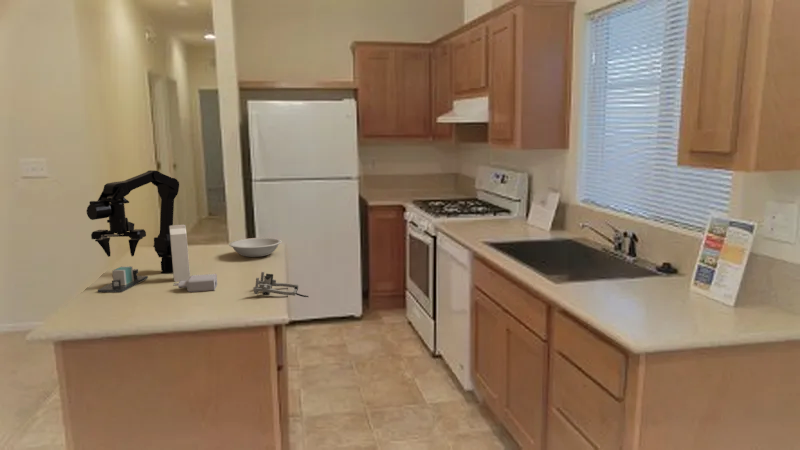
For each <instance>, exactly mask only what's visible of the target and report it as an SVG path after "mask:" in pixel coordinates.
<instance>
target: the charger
mask: <svg viewBox="0 0 800 450" xmlns="http://www.w3.org/2000/svg"><path fill="white" fill-rule="evenodd" d="M172 286H173V287H174V286H175V287H178V289H187V292H188V293H197V292H211V291H214V292H215V291H216V288H217V286H218V275H217V273H211V274H210V273H209V274H194V275H193V274H192V275H190V277H189V278H188V280H185V281H178V282H177V283H176V282H175V283H173V285H172Z"/></svg>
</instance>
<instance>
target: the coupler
mask: <svg viewBox="0 0 800 450" xmlns="http://www.w3.org/2000/svg"><path fill="white" fill-rule="evenodd" d="M133 269H134V268H133V266H128V265H127V266H120V267H118V268H116V269H113V270H112V271H111V272H112V273H111V275H112V280H114V279H116V278H119V280H121V284H127V283H129V282H131V281H132V280H134V278H133Z"/></svg>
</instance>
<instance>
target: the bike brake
mask: <svg viewBox="0 0 800 450" xmlns="http://www.w3.org/2000/svg"><path fill="white" fill-rule="evenodd" d="M299 286H300V285H299V284H294V283H287V282H277V280H276V279H274V274H273V273H266V274H265V271H261V274H260V277H256V278H255V286H254V287H252V289H253V290H252V291H253V293H254V294H255V295H258V293H259V292H262V295H268V296H269V295H270V294H271V293H272V294H277V295H285V296H294V297H295V296H299V297H303V298H309V295H305V294H300V293H298V290H299ZM273 287H288V288H294V289H293V291H287V290H286V291H285V290H279V289H275V288H273Z"/></svg>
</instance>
